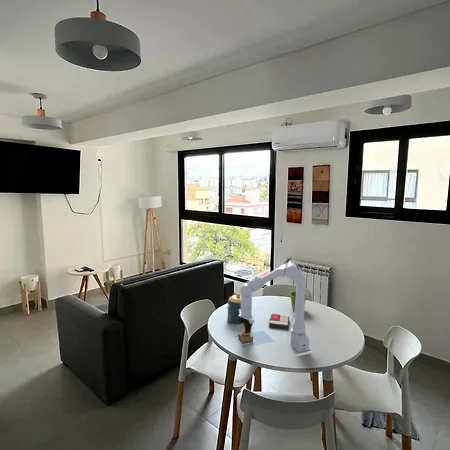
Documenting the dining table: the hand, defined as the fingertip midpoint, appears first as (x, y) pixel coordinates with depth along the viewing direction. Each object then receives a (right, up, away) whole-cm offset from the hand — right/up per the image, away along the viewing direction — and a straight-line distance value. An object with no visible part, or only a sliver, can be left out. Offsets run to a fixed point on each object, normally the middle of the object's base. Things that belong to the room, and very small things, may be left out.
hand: (245, 330), depth 158 cm
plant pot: (+38, -1, +42) cm, 56 cm away
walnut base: (0, -5, +1) cm, 5 cm away
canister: (-3, -3, +25) cm, 26 cm away
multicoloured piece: (+22, -4, +21) cm, 31 cm away
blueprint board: (+5, -6, +3) cm, 8 cm away
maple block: (0, -1, 0) cm, 1 cm away
